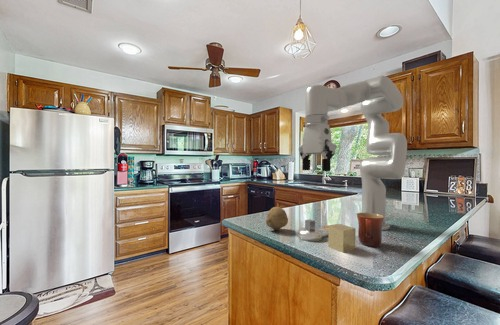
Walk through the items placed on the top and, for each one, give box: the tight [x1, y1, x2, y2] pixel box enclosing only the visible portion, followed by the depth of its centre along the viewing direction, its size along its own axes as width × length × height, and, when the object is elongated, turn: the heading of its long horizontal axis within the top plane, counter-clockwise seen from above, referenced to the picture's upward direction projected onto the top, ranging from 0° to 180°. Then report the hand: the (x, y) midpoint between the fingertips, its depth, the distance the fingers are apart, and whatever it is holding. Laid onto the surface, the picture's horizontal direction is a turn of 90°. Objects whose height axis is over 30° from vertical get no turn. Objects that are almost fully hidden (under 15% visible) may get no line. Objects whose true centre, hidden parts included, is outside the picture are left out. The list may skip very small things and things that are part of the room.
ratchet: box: [297, 218, 338, 242], centre depth 89 cm, size 22×9×6 cm, turn 118°
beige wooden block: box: [328, 223, 356, 253], centre depth 75 cm, size 6×6×7 cm
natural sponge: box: [265, 206, 289, 231], centre depth 94 cm, size 9×9×10 cm
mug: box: [356, 212, 384, 248], centre depth 78 cm, size 12×9×10 cm
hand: (315, 170), depth 78 cm, fingers open, 9 cm apart
